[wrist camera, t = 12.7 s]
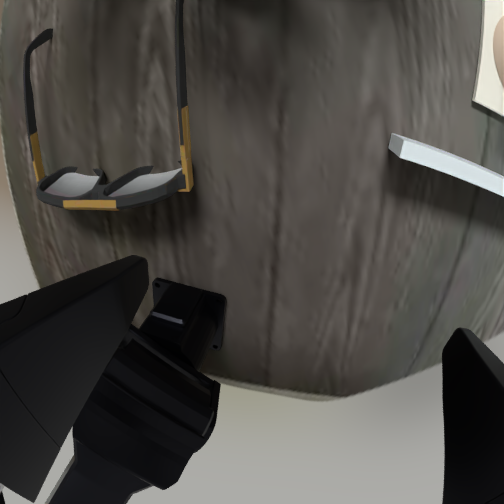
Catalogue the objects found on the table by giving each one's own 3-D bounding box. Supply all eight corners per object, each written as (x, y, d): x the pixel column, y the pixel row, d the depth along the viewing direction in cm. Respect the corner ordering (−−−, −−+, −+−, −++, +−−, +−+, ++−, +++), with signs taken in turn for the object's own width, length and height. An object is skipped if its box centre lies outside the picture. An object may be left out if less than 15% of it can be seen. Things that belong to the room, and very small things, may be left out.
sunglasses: (203, -19, 14) (170, -44, 10) (209, 188, 21) (180, 215, 17) (53, 29, 17) (11, 29, 12) (67, 189, 24) (29, 211, 20)
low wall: (538, 208, 15) (559, 224, 13) (388, 147, 17) (399, 157, 14) (542, 196, 15) (563, 212, 12) (391, 132, 16) (403, 140, 14)
